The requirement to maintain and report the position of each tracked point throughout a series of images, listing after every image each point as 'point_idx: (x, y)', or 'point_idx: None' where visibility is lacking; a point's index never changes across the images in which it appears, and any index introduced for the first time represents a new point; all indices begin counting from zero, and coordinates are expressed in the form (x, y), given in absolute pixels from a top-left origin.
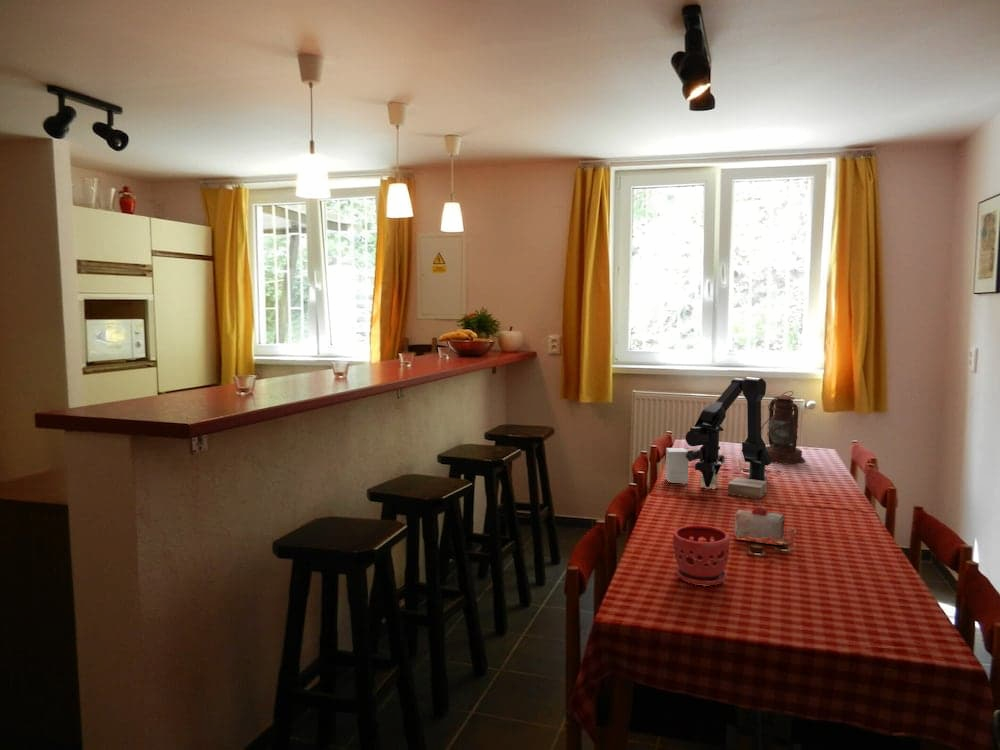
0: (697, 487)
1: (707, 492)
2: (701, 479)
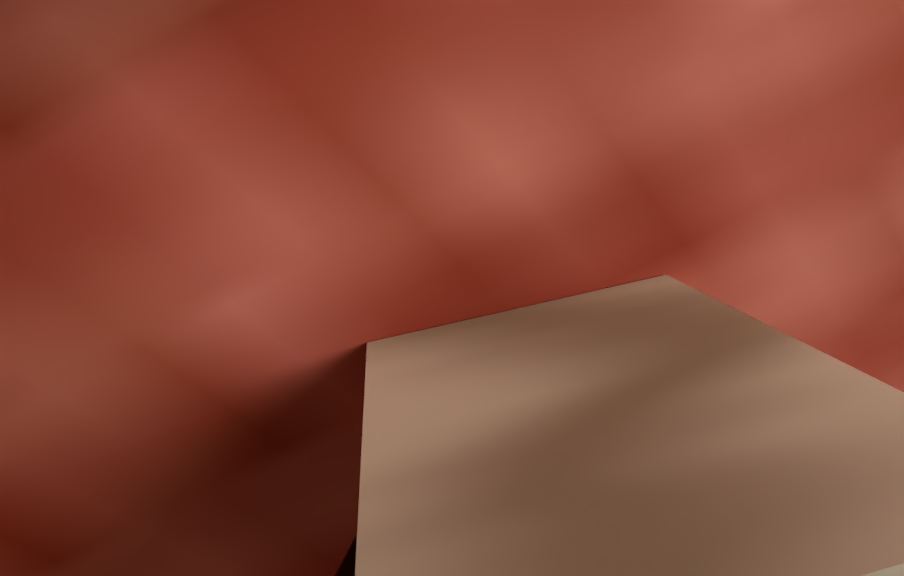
0: (416, 240)
1: (196, 571)
2: (359, 537)
